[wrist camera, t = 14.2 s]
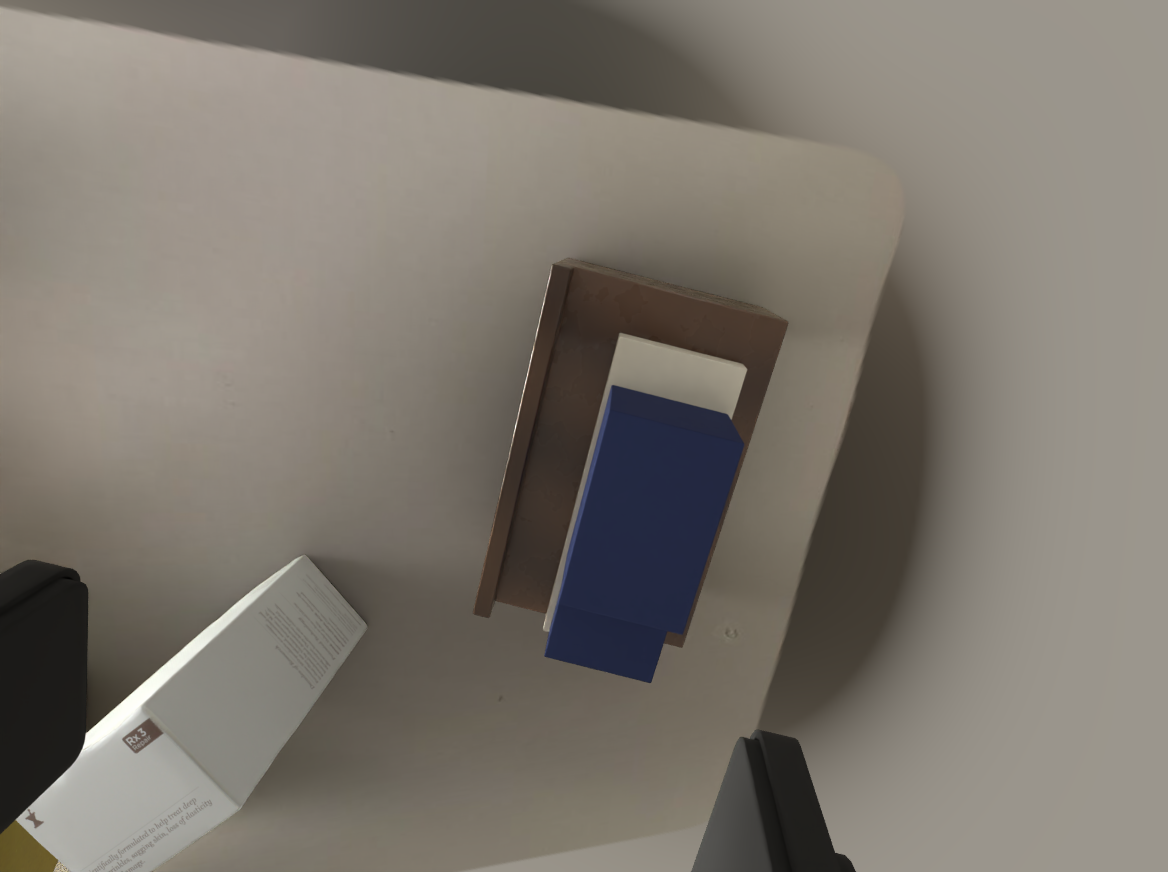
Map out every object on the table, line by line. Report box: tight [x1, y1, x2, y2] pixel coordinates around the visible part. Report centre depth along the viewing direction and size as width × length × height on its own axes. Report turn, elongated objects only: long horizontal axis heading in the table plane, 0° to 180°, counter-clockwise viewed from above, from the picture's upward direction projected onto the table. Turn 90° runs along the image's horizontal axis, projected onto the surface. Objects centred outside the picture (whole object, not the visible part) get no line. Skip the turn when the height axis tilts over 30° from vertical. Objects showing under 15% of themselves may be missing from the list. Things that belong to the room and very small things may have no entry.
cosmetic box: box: [16, 555, 368, 872], centre depth 35 cm, size 8×6×15 cm
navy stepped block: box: [543, 333, 747, 683], centre depth 29 cm, size 14×5×6 cm, turn 166°
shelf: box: [473, 258, 788, 648], centre depth 34 cm, size 16×10×8 cm, turn 166°
